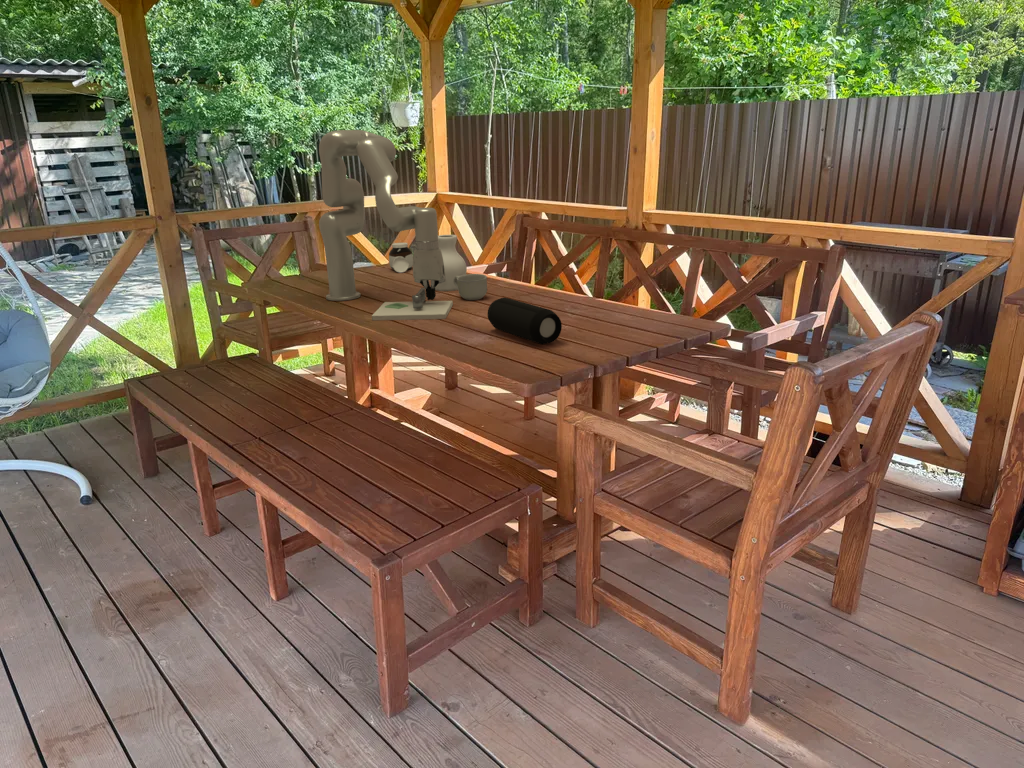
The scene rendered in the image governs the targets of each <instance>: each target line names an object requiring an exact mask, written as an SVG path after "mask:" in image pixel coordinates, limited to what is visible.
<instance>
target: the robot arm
mask: <svg viewBox="0 0 1024 768" xmlns="http://www.w3.org/2000/svg"><path fill="white" fill-rule="evenodd" d="M318 154H319V158H320V164H321V192H322V194H321V196H322V200H323V203H324V205H326V206H327V207H330V208H341V207H343V209H337V210H332V211H328V212H325V213H323V214H322V215H321V216H320V218H319V221H318V226H319V227H318V228H319V232H320V234H321V237H322V241H323V247H324V256H325V262H326V264H325V265H326V270H327V271H326V272H327V281H328V288H329V293H328V294H327V293H326V295H325V298H326V300H328V301H332V302H333V301H335V302H339V301H341V302H342V301H350V300H356V299H358V298H360V297H362V296H361V293H360V292H359V291H357V290H356V289H357V288H356V279H355V271H354V262H353V261H354V260H353V253H352V252H353V251H352V247H351V244H350V242H349V241H348V239H347V237H349V236H355V235H358V234H359V233H361V232H362V231H363V229H364V227H365V192H364V189H363V187H362V184H361V183H360V182H359V181H358V180H357V179H354V178H351V177H349V178H347V166H346V164H345V163H346V162H345V161H344V159H343V157H353V156H355V157H356V156H357V157H358V158H359V160H360V162H361V164H362V165H363V167H364V169H365V171H366V173H367V174H368V176H369V178H370V180H371V181H372V183H373V185H374V187H375V191H374V192H375V193H374V194H375V195H374V199H375V200H374V201H375V205H376V209H377V212H378V214H379V215H380V217H381V220H383V222H384V225H386V227H387V228H388V229H390V230H391V231H392V232H402V231H407V230H414V233H415V235H414V236H415V241H414V242H412V243H411V246H412V247H415V249H414V250H413V254H412V255H413V266H412V276H413V281H414V282H415V283H417V284H421V286H423V288H425V296H426V301H427V300H428V301H434V299H435V298H436V297H437V296H436V295H437V294H436V290H435V287H436V286H437V285H438V284H439V283H443V282H445V277H444V276H445V270H444V262H443V257H442V252H441V249H439V243H438V236H439V233H438V232H439V231H438V229H439V228H438V214H437V213H438V212H437V210H436V209H435V208H434V207H419V206H415V205H410V206H409V205H408V206H402V207H397V205H396V203H395V201H394V200H393V197H392V195H391V188H392V186H394V185H395V184H396V183H397V182H398V178H399V176H398V175H399V174H398V173H397V171H396V170H395V168H394V166H393V164H392V163H391V162H393V161H394V160H395V158H396V155H397V150H396V146H395V144H394V143H393V141H392V140H391V139H389V138H388V137H386V136H382V135H380V134H376V133H373V132H370V131H367V130H362V129H340V130H339V129H338V130H331V131H329V132H326V133H325V134H324V135H323V136H322V137H321V139H320V141H319V146H318Z"/></svg>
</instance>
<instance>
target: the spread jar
mask: <svg viewBox="0 0 1024 768" xmlns="http://www.w3.org/2000/svg"><path fill="white" fill-rule="evenodd" d="M408 245H409V243H408V242H394V243H392V244H391V247H392V248H391V249H390V251H389V252H388V262H389V267H390V268H391V270H393V271H394V272H397V273H400V274H401V273H402V274H403V273H405V272H408V271H410V270H411V269H413V255H414V254H413V251H412V250H411V249H410V247H409V246H408Z"/></svg>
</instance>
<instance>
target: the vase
mask: <svg viewBox="0 0 1024 768" xmlns="http://www.w3.org/2000/svg"><path fill="white" fill-rule="evenodd" d="M457 240H458V235H457V234H440V235H439V234H438V243H439V249H441V252H442V257H443V262H444V270H445V276H444V277H445V282H443V283H439V284H438V285H437V286H436V287H435V291H439V292H451V291H452V292H454V291H458V288H457V287H456V286H455V284H454V277H455V276H462V275H467V267H468V266H467V263H466V261H465V259H464V258H463V256H461V255H460V253H459V252H458V250H457V248H456V244H457Z"/></svg>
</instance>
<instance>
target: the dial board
mask: <svg viewBox="0 0 1024 768" xmlns="http://www.w3.org/2000/svg"><path fill="white" fill-rule="evenodd" d="M422 305H423V308H420V309H414V308H413V302H412V301H385V302H383V303H382V304H381V305H380V306H379V308H377V310H376V311H374V313H373V314H372V315H371V321H402V320H403V321H407V320H409V321H411V320H446V318H447V317H448V314H449V313H450V311H451V309H452V307H453V305H454V304H453V300H428V301H427V300H425V301H424V302H423V304H422Z"/></svg>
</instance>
